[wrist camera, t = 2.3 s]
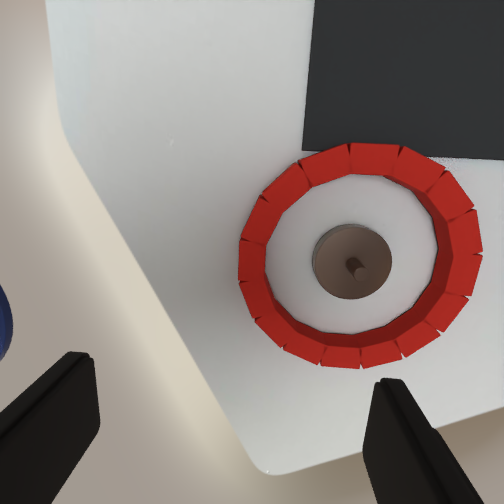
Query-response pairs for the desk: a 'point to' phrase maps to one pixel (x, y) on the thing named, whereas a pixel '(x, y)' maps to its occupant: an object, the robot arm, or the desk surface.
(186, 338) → the desk surface
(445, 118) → the mat
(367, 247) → the ring holder
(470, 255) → the ring
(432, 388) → the desk surface
